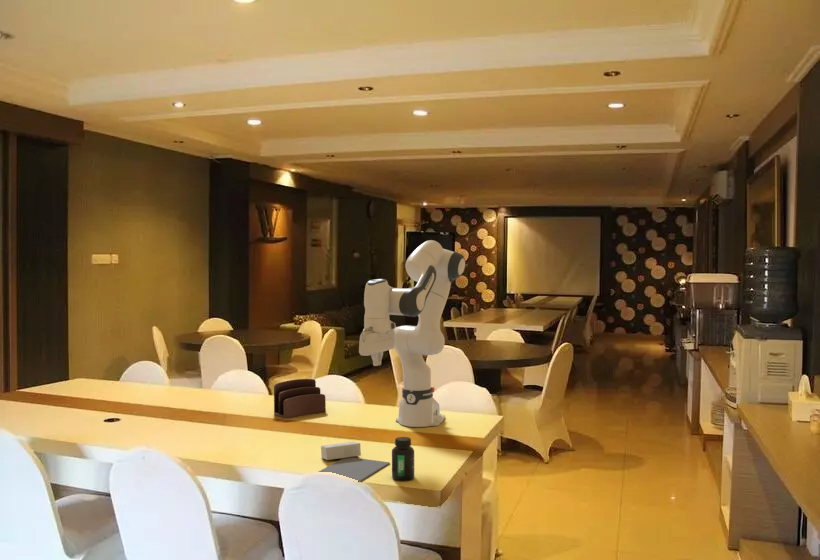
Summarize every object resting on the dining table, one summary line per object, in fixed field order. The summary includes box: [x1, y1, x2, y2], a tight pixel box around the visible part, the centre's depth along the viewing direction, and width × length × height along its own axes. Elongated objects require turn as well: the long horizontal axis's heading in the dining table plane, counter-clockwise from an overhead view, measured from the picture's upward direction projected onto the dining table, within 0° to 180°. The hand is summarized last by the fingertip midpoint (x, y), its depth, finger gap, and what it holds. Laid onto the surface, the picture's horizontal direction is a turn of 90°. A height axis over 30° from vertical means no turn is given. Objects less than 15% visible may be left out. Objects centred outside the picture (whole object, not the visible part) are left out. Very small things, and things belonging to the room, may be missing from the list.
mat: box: [318, 456, 390, 482], centre depth 220 cm, size 20×16×1 cm
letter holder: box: [273, 378, 327, 419], centre depth 299 cm, size 10×20×14 cm, turn 126°
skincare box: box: [320, 441, 362, 461], centre depth 233 cm, size 6×4×12 cm
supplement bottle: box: [391, 436, 415, 482], centre depth 212 cm, size 7×7×12 cm
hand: (377, 365), depth 244 cm, fingers closed
